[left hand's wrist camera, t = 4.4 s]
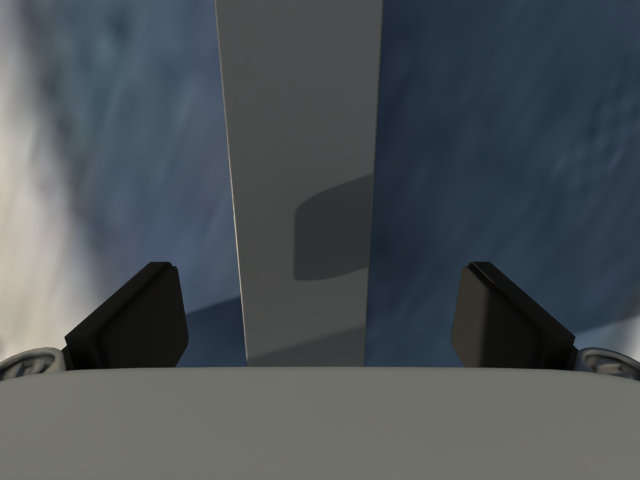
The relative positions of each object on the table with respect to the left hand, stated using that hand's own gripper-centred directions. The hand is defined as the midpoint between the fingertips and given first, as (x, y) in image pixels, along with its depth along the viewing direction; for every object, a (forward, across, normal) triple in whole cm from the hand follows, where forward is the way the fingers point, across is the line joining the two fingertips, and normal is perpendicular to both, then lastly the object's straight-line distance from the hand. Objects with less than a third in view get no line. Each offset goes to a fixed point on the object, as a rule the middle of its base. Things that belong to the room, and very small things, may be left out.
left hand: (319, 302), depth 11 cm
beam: (+8, +1, -31) cm, 32 cm away
